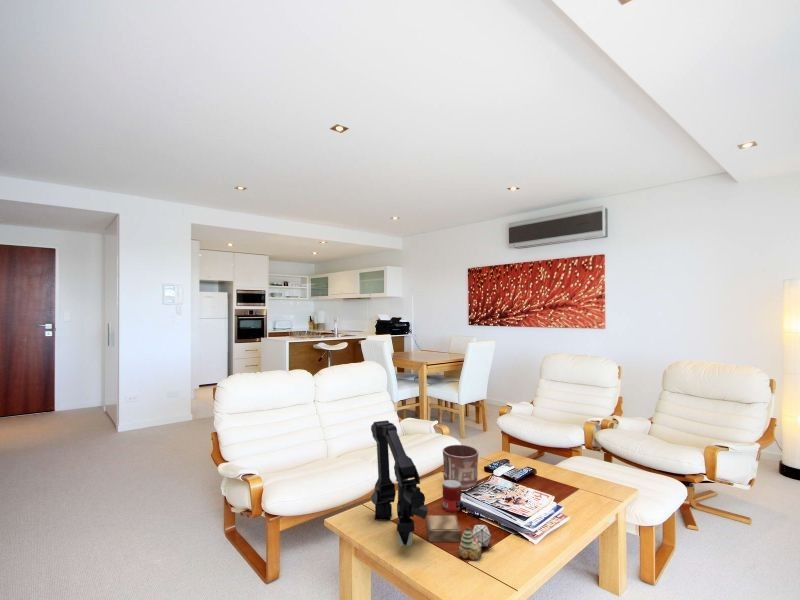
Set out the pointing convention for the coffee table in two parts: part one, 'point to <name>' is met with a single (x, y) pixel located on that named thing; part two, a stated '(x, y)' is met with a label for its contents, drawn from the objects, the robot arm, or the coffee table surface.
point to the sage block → (407, 541)
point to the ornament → (469, 546)
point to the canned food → (451, 495)
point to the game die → (481, 534)
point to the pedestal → (443, 529)
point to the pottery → (461, 465)
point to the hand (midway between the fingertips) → (405, 538)
